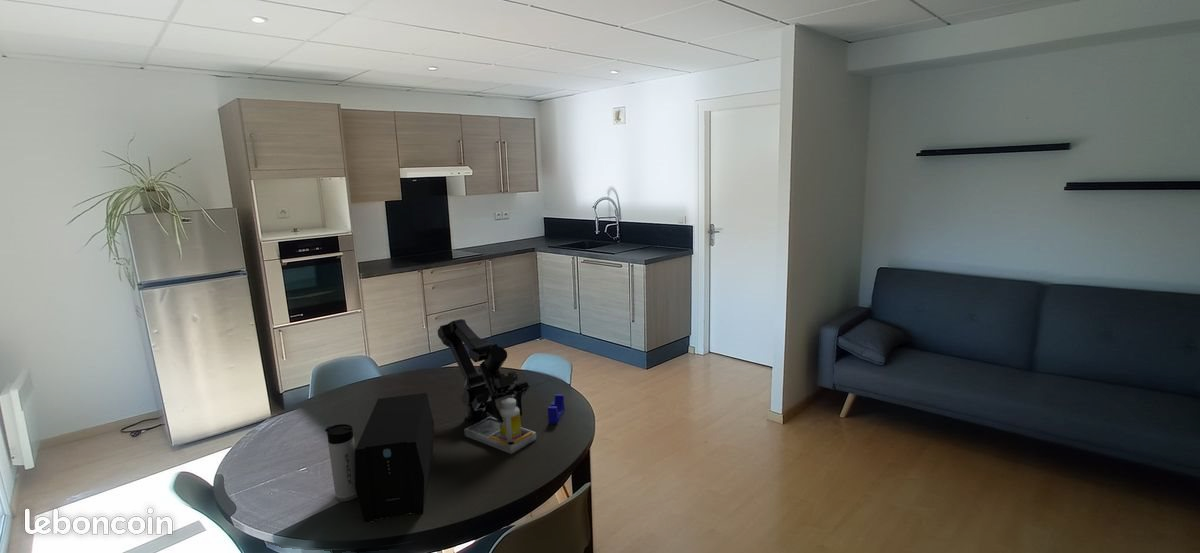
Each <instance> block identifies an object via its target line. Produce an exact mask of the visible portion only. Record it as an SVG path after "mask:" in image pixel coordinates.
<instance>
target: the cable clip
mask: <svg viewBox="0 0 1200 553" xmlns="http://www.w3.org/2000/svg"><path fill="white" fill-rule="evenodd" d="M564 412H565V394H564V393H555V395H554V401H551V403H550V405H548V406H547V416H548V417H547V418H548V420H547V421H548V425H549V424H550V425H558V423H559V421H560V419H561V417H562V415H563V414H564Z"/></svg>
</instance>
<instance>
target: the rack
mask: <svg viewBox="0 0 1200 553" xmlns="http://www.w3.org/2000/svg"><path fill="white" fill-rule="evenodd" d="M463 430H464V436H465V437H466V438H468V439H472V440H475V441H477V442H480V443H481V444H485V445H487V446H490V447H492V448H495V449H497V450H500V451H503V452H505V453H508V454H510V455H512V454H514V453H515V452H518V451H520V450H521V449H522V448H524V447H526V446H528V445H529V444H531V443H533V442H534V441H536V440H537V432H536V431H533V430H531V429H527V428H524V427H523V426H521V437H520V438H518V439H516V440H515V441H513V442H512V444H509V443H510V442H507V441H505V440H502V439H501V436H500V423H499V421H498V420H497V419H496V418H495V417H494V416H490V417H488V418H485V419H483V420H481V421H479V422H477V423H475V422H474V424H471V425H469V426H468V427H466V428H464V429H463Z"/></svg>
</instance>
